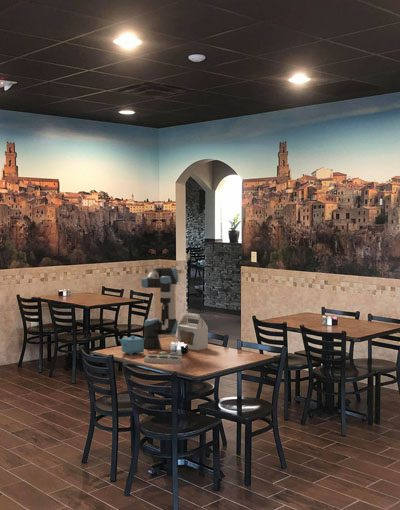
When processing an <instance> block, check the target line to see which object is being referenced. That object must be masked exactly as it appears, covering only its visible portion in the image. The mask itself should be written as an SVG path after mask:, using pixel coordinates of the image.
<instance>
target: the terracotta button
mask: <svg viewBox="0 0 400 510" xmlns="http://www.w3.org/2000/svg"><path fill="white" fill-rule="evenodd" d="M157 353H158V351H156V350H149V351H148V352H147V355H158V354H157Z"/></svg>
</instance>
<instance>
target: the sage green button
mask: <svg viewBox="0 0 400 510" xmlns="http://www.w3.org/2000/svg"><path fill="white" fill-rule="evenodd" d="M158 355H164V356H168V352H167V351H158Z"/></svg>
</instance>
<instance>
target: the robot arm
mask: <svg viewBox="0 0 400 510" xmlns="http://www.w3.org/2000/svg"><path fill="white" fill-rule="evenodd" d="M178 283H179V273H178V268H176V267H166V266H165V267H161V266H160V267H154V268H151V269H150V270H149V271H147V273H146V277H142V278H141V287H142V288H144V289H148V288H149V289H160V292H159V295H160V296H159V297H160V298H159V302H160V304H162V305H161V315H160V316H161V318H158V317H154V318H148V319H145V321H144V325H143V326H144V333H143V335H144V337H143V339H144V349H145V350H156V349H157V350H158V349H161V347H162V344H161V341H160V335H161V336H163V335H166V336H174V335H176V334H177V332H178V325H179V320H178V319H177V317H176V316H175V305H176V304H175V300H176V299H175V298H176V294H175V292H176V286H177V284H178Z"/></svg>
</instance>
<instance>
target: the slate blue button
mask: <svg viewBox="0 0 400 510" xmlns="http://www.w3.org/2000/svg"><path fill="white" fill-rule="evenodd" d="M169 356H179V352H177V351H171V352H169Z"/></svg>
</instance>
